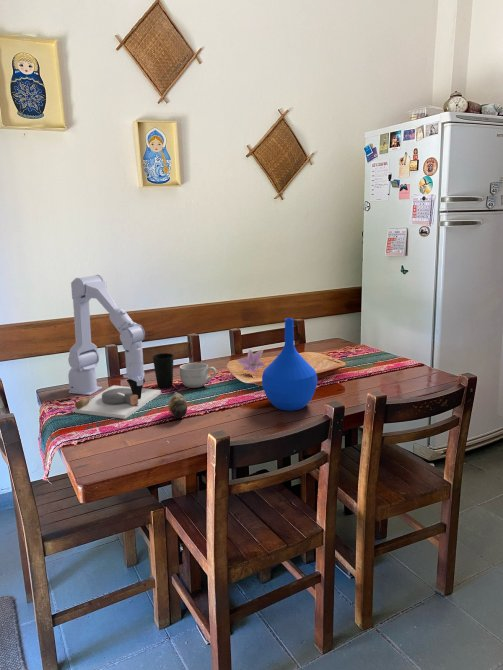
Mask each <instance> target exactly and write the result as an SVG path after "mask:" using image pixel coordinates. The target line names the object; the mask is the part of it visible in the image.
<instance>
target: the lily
mask: <svg viewBox="0 0 503 670" xmlns="http://www.w3.org/2000/svg"><path fill="white" fill-rule="evenodd" d="M263 352H264V349H260V350H258V351H256V352H255V353H254V352H253V351H252V349H249V350H248V352H247V356H246V357H242V358H238V359H237V363H238V364H240V365H241V366H242V367H243V369H242V371H243V370H248V371H249V372H254V373H256V374H257V372H258V371H257V369H261V368H263V367H266V364H265V363H264V362H263V361H261V358H262V355H263ZM249 372H248V373H249Z"/></svg>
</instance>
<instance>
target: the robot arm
mask: <svg viewBox="0 0 503 670" xmlns="http://www.w3.org/2000/svg"><path fill="white" fill-rule="evenodd" d="M70 284H71V285H70V286H71V299H72V302H73V303H72V304H73V305H72V306H73V322H74V335H75V343H74V344H73V345H72V346H71V347H70V349H69V355H68V361H67V362H68V365H69V366H70V369H69V371H68V374H67V375H68V376H67V377H68V386H69V391H68V393H69V394H77V395H86V396H87V395H88V396H91V395H92V394H94V393H96V392H99V391H100V390H101V389H103V386H99V385H98V382H97V381H98V380H97V372H96V367H97V366H98V365H97V364H98V363H99V362H100V354H99V352H98V351H99V350H98V346H97V345H96V344H95V343H93V342H92V331H91V316H90V315H91V314H90V300H92V299H96V300H97V301H98V302H99V304H101V306H102V307H103V308H104V309H105V310H106V312H107V313H108V314H109V321H111V323H112V325H113V326H114V327H115V329H117V331H118V332H119V334H120V335H119V340H120V342H121V343H122V344H121V345H122V348H123V350H124V357H125V371H126V373H125V374H123V375H122V377H123V379H127V380H126V381H127V383H128V386H129V387H130V388H131V391H132V394H135V395H138V399H141V392H142V388H144V387H143V386H144V384H145V383H146V380H145V378H144V377H145V375H146V373H145V370H144V368H145V367H144V354H143V342H142V341H144V340H145V338H146V332H145V329H144V327H143V325H141V324H139V323H137V322H134V321H133V319H132V318H131V317H130V316H129V314H128V313H127V311H126V310H125V309H124V308H119V307H118V305H117V304H116V302H115V301H114V299H113V297H112V296H111V294H110V293H109V291H108V289H107V281H105V279H104V278H103V277H102V276H101V275H100V274H95V275H90V276H83V277H75V278H74V279H73V280H72V281H71V282H70Z"/></svg>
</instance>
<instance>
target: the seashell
mask: <svg viewBox="0 0 503 670" xmlns="http://www.w3.org/2000/svg"><path fill="white" fill-rule="evenodd" d="M167 408H168V411H169V413H170V414H171V416H173V417H174V418H176V419H182V418H184V417H185V416H186V414H187V412H188V403H187V401H186V399H185V397H184V396H183V395H182V394H181V393H180V392H177V391H176V392H174V393H173V394H172V395H171V396H170V398H169V400H168V404H167Z"/></svg>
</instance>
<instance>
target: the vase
mask: <svg viewBox="0 0 503 670" xmlns="http://www.w3.org/2000/svg"><path fill="white" fill-rule="evenodd" d="M294 329H295V328H294V318H292V317H287V318H284V344H283V345H284V346H283V348H282V350H281V351H280V352H279V353H278V355H277V356H276V357H275V358H274V359H273V360H272V361H271V362H270V363H269V364H268V366H267V367H265V368H264V369H263V372H262V377H261V385H262V389H263V391H264V394H265V396H266V398H267V399H268V401H269V403H271V405H272V406H274V407H275V408H276V409H278V410H281V411H288V412H293V411H298V410H302V409H303V408H304V407H306V406H307V405H308V404H309V403H310V402H311V400H312V398H313V397H314V395H315V392H316V389H317V385H318V376H317V371H316V370H315V368H314V367H312V366H311V365H310V363H309V362H307V361H306V360H305V358H304V357H303V356H302V355H301V354H300V353H299V352H298V351H297V349H296V347H295V342H294V341H295V338H294V337H295V335H294V334H295V333H294Z"/></svg>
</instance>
